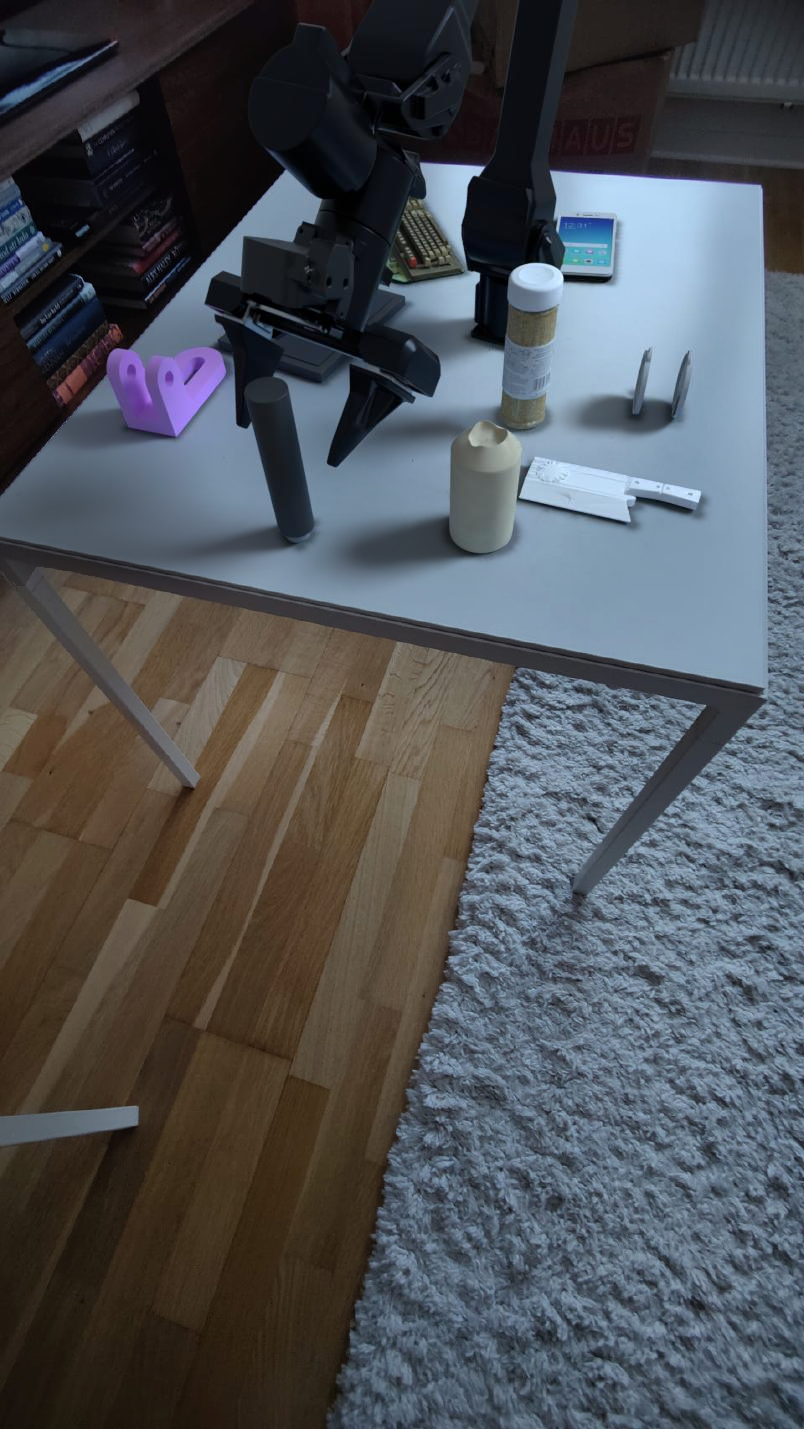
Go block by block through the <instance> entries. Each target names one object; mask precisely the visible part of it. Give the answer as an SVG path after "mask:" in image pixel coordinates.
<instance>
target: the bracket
mask: <svg viewBox="0 0 804 1429" xmlns="http://www.w3.org/2000/svg"><path fill="white" fill-rule="evenodd" d="M194 372H195V374H194V375H193V373H194ZM226 373H227V370H226V366H225V362H224V358H223V355H222V354H221V352H220V351H219V350H217V349H215V348H212V347H207V346H197V347H192V348H188V349H185V350H182V351H181V352H178V353H177V354H176V355H175V356H174V357H169V356H164V355H158V354H156V355H152V356H150V357H149V359H148V360H147V362H146V365H145V367H144V364H143V361H142V359H141V357H140V355H139V354H138V353H137V352H136V351H134V350H130V349H123V348H114V349H113V350H111V351H110V353H109V355H108V357H107V361H106V375H107V379H108V382H109V384H110V386H111V389H112V391H113V395H114V397H115V399H116V401H117V403H118V406H119V408H120V410H121V413H122V415H123V417H124V420H125V422H126V424H127V427H128V428H129V429H130V428H131V429H133V430H134V429H136V430H141V431H143V432H144V431H145V432H149V433H155V434H159V435H165V436H168V437H175V438H177V437H178V436H179V434H180V433H181V432H183V430H184V428H185V427H186V426H187V424H188V423H189V422H190V421H191V419H192V418H193V417H194V416H195V414H196V413H197V412H198V411H199V409H200V408H201V407H202V405H203V404H204V403H205V402H206V401H207V399H208V398H209V397H210V396H211V394H213V392H214V391H215V389H216V388H217V387H218V385H219V384H220V383H221V382H222V381H223V379H224V378H225V376H226ZM192 375H193V376H192ZM191 376H192V378H190V377H191ZM189 378H190V379H189ZM188 379H189V381H188ZM186 382H187V383H186ZM185 383H186V384H185Z"/></svg>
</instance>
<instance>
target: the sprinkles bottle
mask: <svg viewBox="0 0 804 1429" xmlns="http://www.w3.org/2000/svg"><path fill="white" fill-rule="evenodd" d="M563 288H564V279H563V275H562V273H561V271H560V270H559V269H557V268H556V267H554V266H551V265H548V264H543V263H530V264H525V265H522V266H519V267H518V268H516V269H514V270H513V271H512V273H511V274H510V276H509V282H508V294H507V298H508V301H509V304H508V305H509V310H508V322H507V332H506V338H505V347H504V352H503V365H502V376H501V377H502V378H501V388H502V390H501V402H500V408H499V418H500V421H502V422H503V423H504V425H506V426H508V427H509V428H513V429H515V430H517V429H519V430H525V429H526V430H528V429H532V428H535V427H537V426H538V425H540V424H542V422H543V421H544V419H545V415H546V409H545V408H546V401H547V393H548V390H549V385H550V379H551V371H552V364H553V357H554V349H555V341H556V328H557V318H558V311H559V306H560V303H561V301H562V297H563Z"/></svg>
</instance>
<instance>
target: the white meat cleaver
mask: <svg viewBox="0 0 804 1429" xmlns="http://www.w3.org/2000/svg"><path fill="white" fill-rule="evenodd" d="M701 495H702V490H697V489H694V488H693V489H692V488H688V487H683V486H678V485H674V484H669V483H662V482H658V481H654V480H650V479H645V478H640V477H637V476H636V477H635V476H631V475H630V476H629V475H626V474H621V473H617V472H612V471H608V470H603V469H598V468H596V467H595V468H594V467H590V466H586V465H581V464H576V463H572V462H564V461H559V460H558V461H557V460H554V459H548V458H543V457H540V456H534V458H533V460H532V462H531V464H530V466H529V469H528V472H527V474H526V476H525V478H524V481H523V485H522V488H521V490H520V494H519V496H518V498H519V499H522V500H526V501H531V502H536V503H539V504H545V505H548V506H553V507H557V508H563V509H566V510H571V511H576V512H579V513H585V514H588V515H593V516H598V517H603V518H607V519H611V520H614V521H615V520H616V521H619V522H625V523H629V524H631V522H632V519H631V515H630V512H629V508H631V507H635V504H636V500H637V497H639V498H645V499H651V500H658V501H662V502H665V503H670V504H672V505H676V506H679V507H683V508H687V509H689V510H693V511H696V510H697V508H698V505H699V502H700V498H701Z"/></svg>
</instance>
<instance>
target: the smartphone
mask: <svg viewBox="0 0 804 1429" xmlns="http://www.w3.org/2000/svg"><path fill="white" fill-rule="evenodd" d="M617 220H618V215H617V213H615V212H602V211H601V212H600V211H599V212H597V211H576V210H575V211H574V210H561V211H559V212H558V216H557V222H556V225H555V229H556V231H557V233H558V235H559V236H560V238H561V240H562V242H563V244H564V246H565V248H566V250H565V254H564V258H563V265H562V266H561V270H560V271H561V273H562V275H563V280H579V281H595V282H596V281H599V282H609V281H611V280H612V278H613V273H614V264H615V248H616V237H617V222H618V221H617Z"/></svg>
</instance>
